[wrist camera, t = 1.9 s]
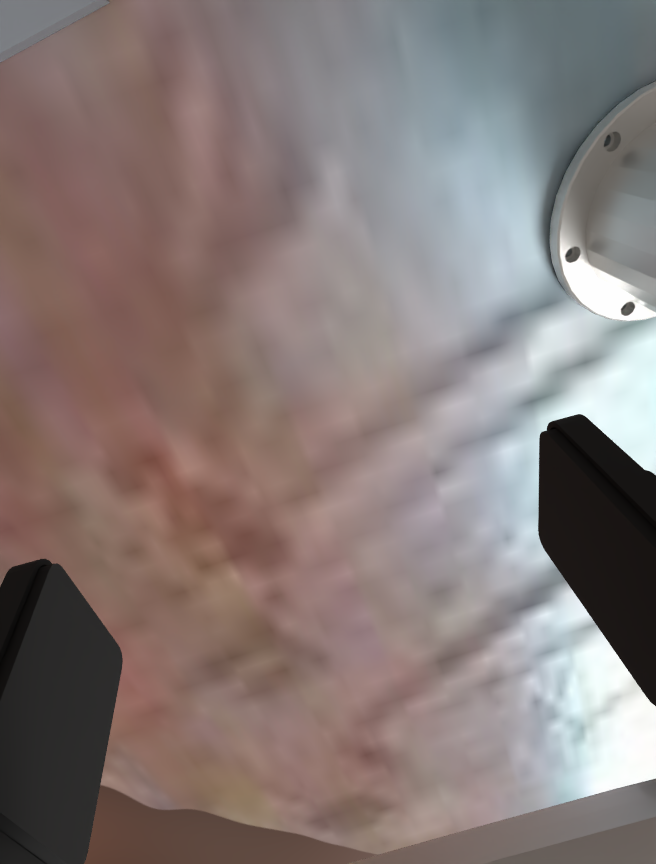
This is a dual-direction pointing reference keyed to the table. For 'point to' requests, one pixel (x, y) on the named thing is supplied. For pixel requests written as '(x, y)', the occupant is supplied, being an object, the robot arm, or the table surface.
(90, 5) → the pin board
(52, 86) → the table surface
